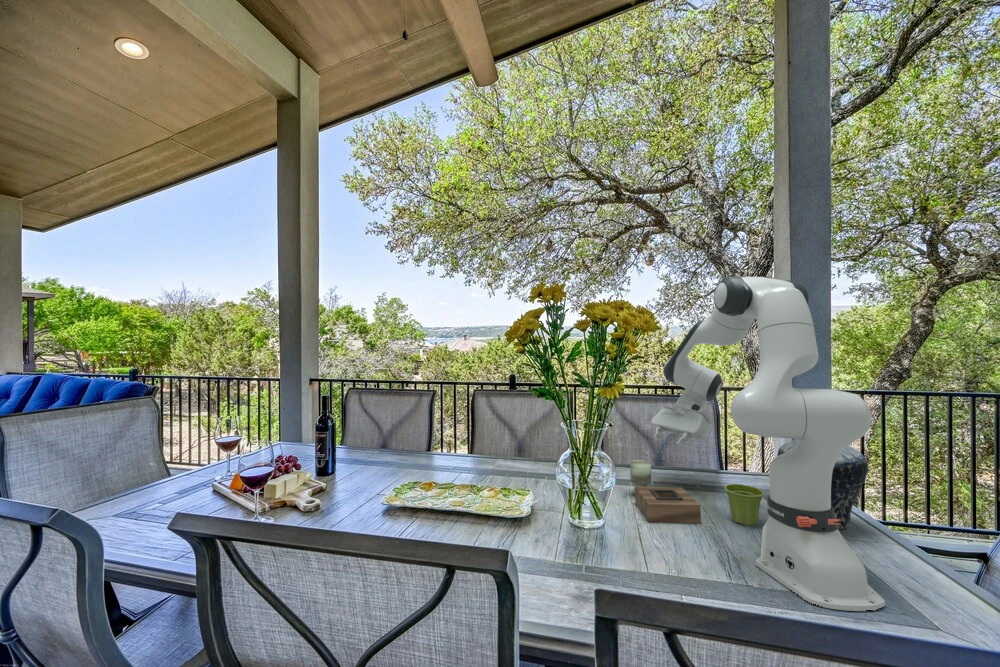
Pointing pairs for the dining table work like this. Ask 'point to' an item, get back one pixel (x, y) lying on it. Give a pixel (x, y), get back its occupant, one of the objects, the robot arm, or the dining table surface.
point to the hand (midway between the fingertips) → (666, 441)
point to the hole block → (667, 505)
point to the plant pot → (744, 503)
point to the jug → (842, 480)
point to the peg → (640, 473)
